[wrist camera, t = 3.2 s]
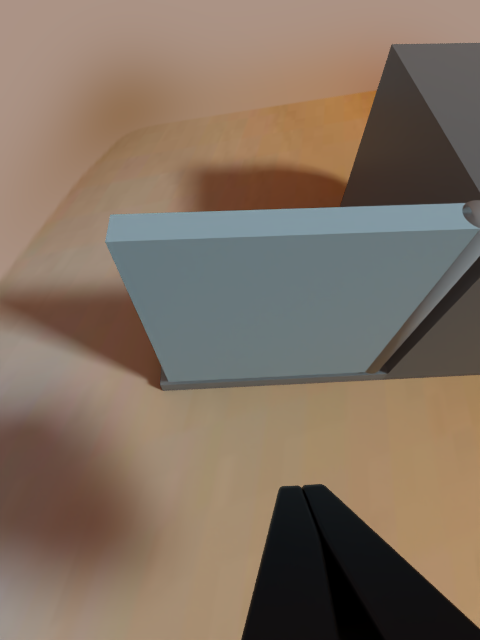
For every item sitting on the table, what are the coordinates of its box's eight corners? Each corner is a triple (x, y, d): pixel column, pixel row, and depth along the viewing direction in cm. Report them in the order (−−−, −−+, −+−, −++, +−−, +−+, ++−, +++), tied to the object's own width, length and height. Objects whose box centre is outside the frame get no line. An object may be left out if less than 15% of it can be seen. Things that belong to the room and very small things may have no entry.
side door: (383, 373, 18) (515, 230, 10) (168, 383, 18) (104, 245, 9) (377, 351, 19) (496, 199, 10) (169, 361, 18) (110, 212, 10)
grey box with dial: (516, 372, 19) (785, 220, 10) (162, 390, 19) (87, 245, 9) (433, 201, 26) (543, 15, 17) (173, 209, 26) (136, 20, 16)
